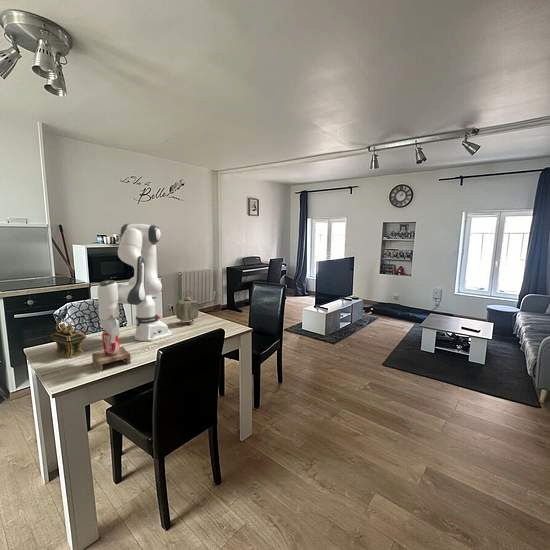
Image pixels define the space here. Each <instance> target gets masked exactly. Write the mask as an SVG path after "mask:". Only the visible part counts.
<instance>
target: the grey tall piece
mask: <svg viewBox="0 0 550 550" xmlns="http://www.w3.org/2000/svg"><path fill="white" fill-rule="evenodd" d="M188 292H190V294H186V295H185V293H188ZM191 295H193V293H192V291H191V290H185V291H183V293H182V296H183V297H184V298H183V299H181V300H178V301H177V302H176V303H175V316H176V319H179V320H180V321H179V322H178V325H179V326H180V325H181V324H182V322H187V321H188V325H189V326H190V325H191V322H194V320H195V319H197V318H198V317H199V313H200V312H199V303H198V300H194V299H192V298H191ZM190 321H191V322H190Z"/></svg>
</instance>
